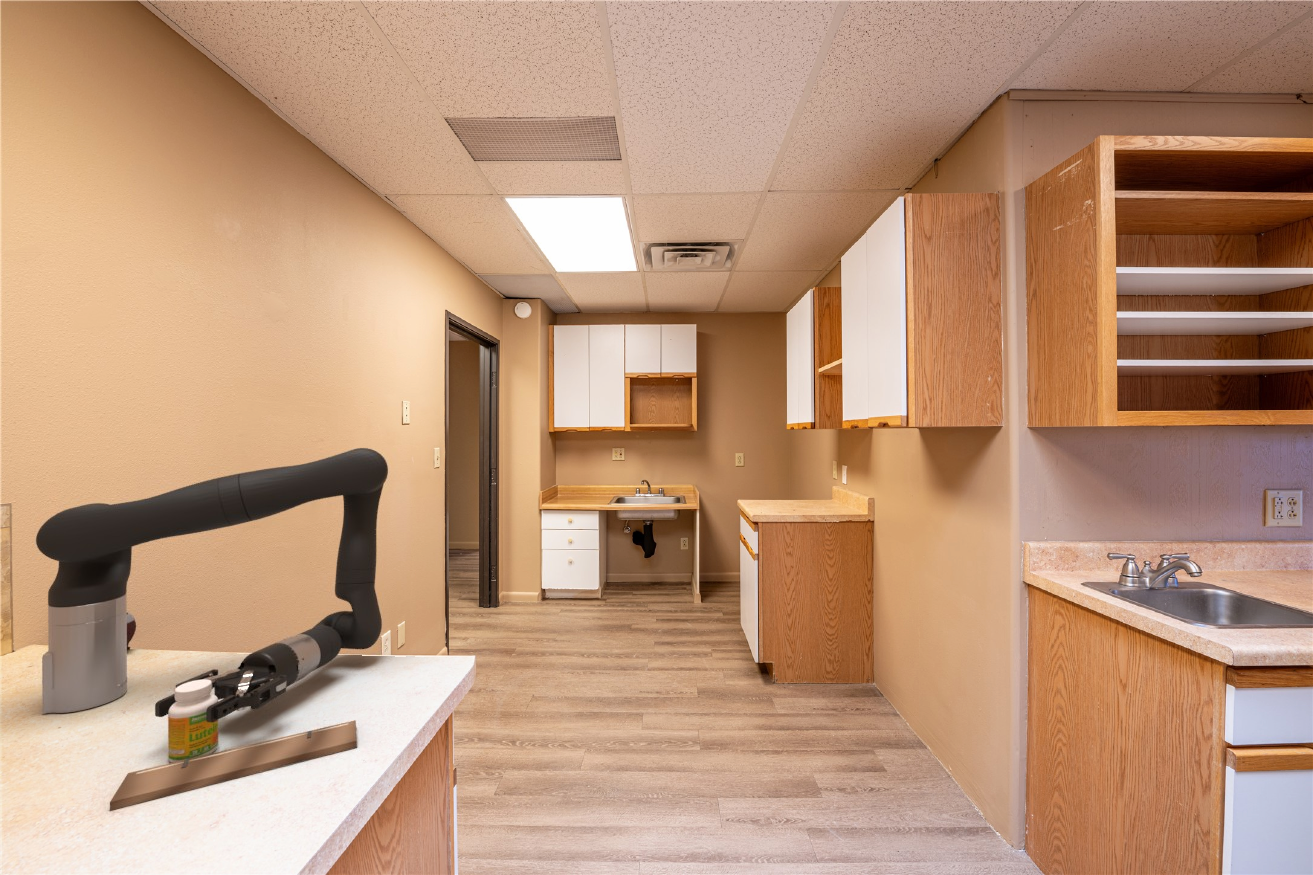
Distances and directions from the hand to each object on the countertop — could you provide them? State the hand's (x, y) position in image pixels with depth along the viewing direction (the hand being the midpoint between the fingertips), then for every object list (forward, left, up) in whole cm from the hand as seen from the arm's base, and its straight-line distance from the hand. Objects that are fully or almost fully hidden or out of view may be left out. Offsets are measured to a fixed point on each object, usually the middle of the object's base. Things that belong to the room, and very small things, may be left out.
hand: (182, 713), depth 75 cm
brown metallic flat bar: (+8, -6, -7) cm, 12 cm away
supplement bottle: (+1, +1, -7) cm, 7 cm away
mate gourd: (-22, +54, -7) cm, 59 cm away
